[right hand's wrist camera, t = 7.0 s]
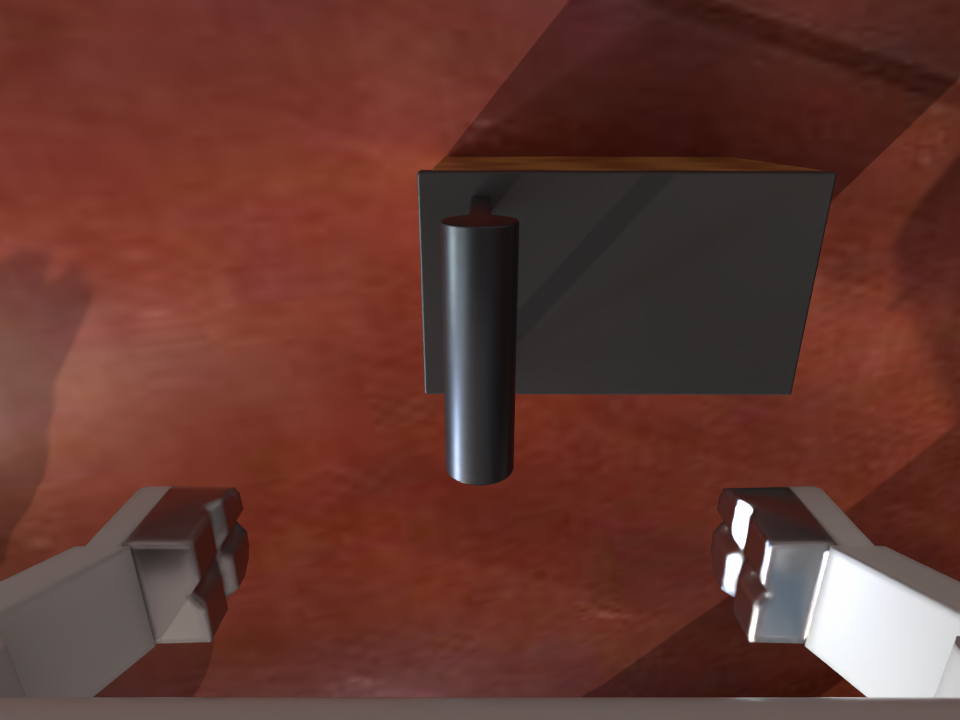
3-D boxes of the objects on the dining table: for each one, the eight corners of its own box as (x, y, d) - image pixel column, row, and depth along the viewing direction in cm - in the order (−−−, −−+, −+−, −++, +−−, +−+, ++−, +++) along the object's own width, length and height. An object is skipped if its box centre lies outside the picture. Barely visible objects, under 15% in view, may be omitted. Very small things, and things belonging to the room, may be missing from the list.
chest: (447, 320, 35) (436, 386, 27) (444, 156, 32) (430, 169, 23) (707, 321, 35) (781, 386, 26) (731, 157, 32) (825, 170, 23)
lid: (426, 386, 26) (401, 505, 18) (419, 170, 23) (384, 197, 15) (782, 387, 26) (917, 507, 18) (825, 170, 23) (1015, 198, 15)
